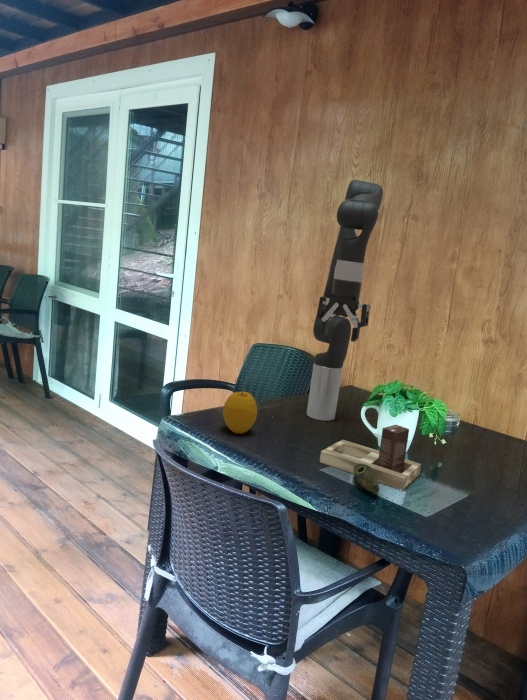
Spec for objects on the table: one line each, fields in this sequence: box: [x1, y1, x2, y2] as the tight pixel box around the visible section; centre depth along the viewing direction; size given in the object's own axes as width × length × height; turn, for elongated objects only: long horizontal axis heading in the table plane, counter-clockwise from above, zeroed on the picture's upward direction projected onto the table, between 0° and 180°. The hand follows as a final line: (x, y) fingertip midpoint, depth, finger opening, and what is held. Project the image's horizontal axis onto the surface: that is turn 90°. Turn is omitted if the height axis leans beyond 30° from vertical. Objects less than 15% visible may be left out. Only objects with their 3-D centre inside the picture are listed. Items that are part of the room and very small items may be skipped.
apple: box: [222, 391, 258, 435], centre depth 160 cm, size 10×10×12 cm
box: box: [378, 424, 410, 474], centre depth 142 cm, size 6×4×12 cm
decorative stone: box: [353, 463, 380, 493], centre depth 134 cm, size 11×8×5 cm
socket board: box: [319, 439, 422, 490], centre depth 145 cm, size 13×22×3 cm, turn 58°
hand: (339, 338), depth 155 cm, fingers open, 8 cm apart
